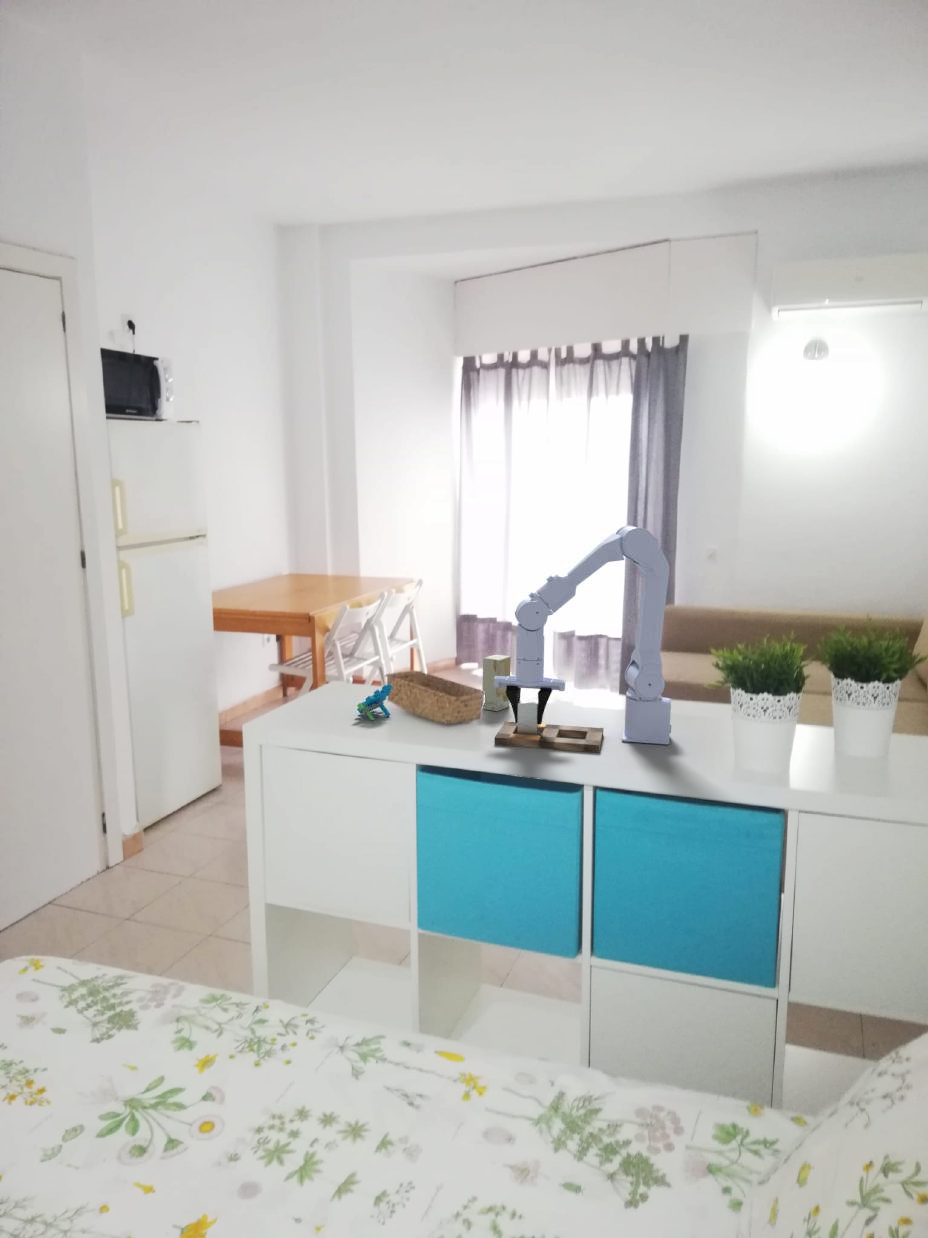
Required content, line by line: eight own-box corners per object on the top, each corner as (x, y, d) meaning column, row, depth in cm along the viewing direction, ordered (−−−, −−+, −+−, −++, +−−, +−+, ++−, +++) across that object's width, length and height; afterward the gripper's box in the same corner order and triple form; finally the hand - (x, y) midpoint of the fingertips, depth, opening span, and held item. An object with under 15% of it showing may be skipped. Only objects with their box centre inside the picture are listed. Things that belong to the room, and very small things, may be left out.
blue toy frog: (378, 700, 201) (398, 676, 194) (393, 719, 199) (413, 696, 193) (345, 716, 192) (364, 691, 186) (360, 736, 191) (380, 713, 185)
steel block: (539, 732, 179) (539, 699, 178) (536, 737, 175) (537, 704, 174) (520, 730, 180) (520, 698, 178) (517, 736, 176) (517, 703, 175)
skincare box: (497, 712, 197) (498, 660, 195) (481, 709, 199) (481, 658, 197) (510, 706, 203) (511, 655, 201) (494, 703, 205) (495, 653, 203)
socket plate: (603, 735, 180) (603, 727, 180) (599, 752, 168) (599, 744, 168) (505, 728, 185) (505, 720, 184) (494, 744, 173) (494, 736, 173)
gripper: (567, 656, 177) (565, 719, 179) (498, 652, 180) (497, 714, 182) (563, 663, 170) (562, 728, 172) (492, 659, 173) (491, 723, 176)
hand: (528, 722), depth 177 cm, fingers closed on steel block, 4 cm apart
